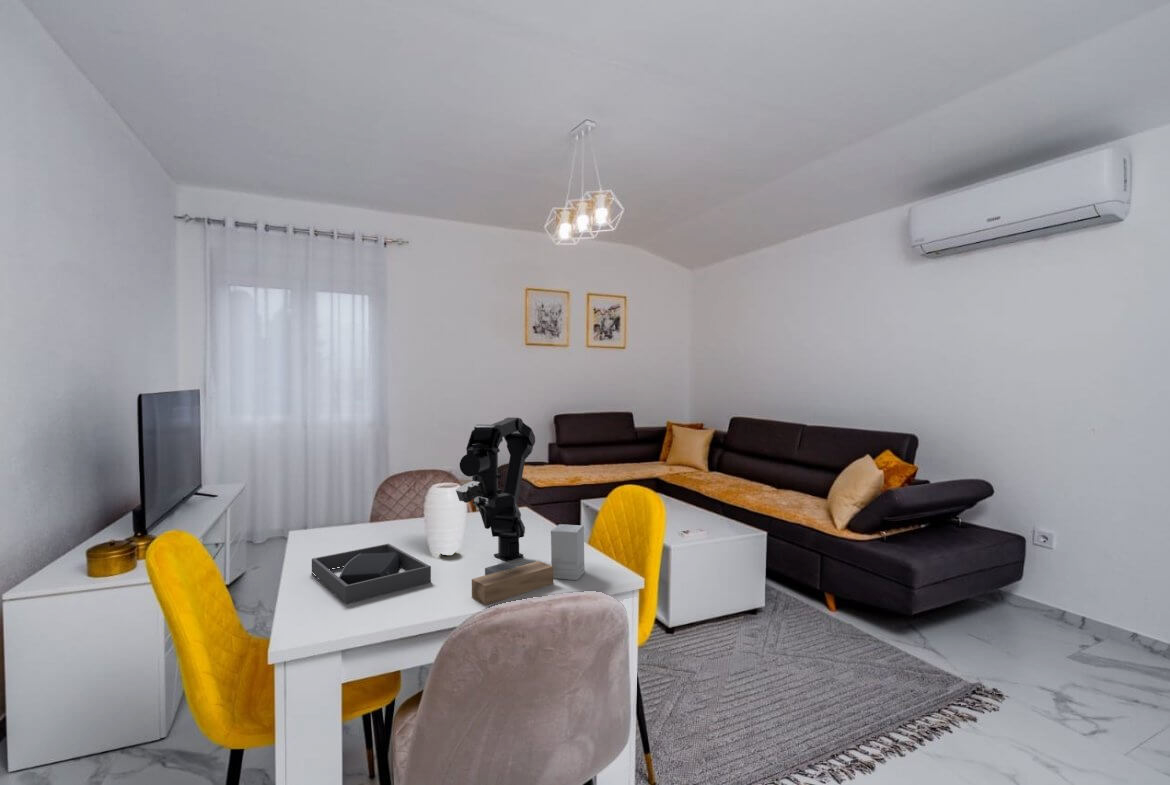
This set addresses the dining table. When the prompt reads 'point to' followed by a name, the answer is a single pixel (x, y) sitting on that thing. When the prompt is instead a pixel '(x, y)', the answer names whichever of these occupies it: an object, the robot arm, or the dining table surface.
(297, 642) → the dining table surface
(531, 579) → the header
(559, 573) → the supplement box
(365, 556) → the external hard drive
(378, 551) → the bumper frame
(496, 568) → the box
